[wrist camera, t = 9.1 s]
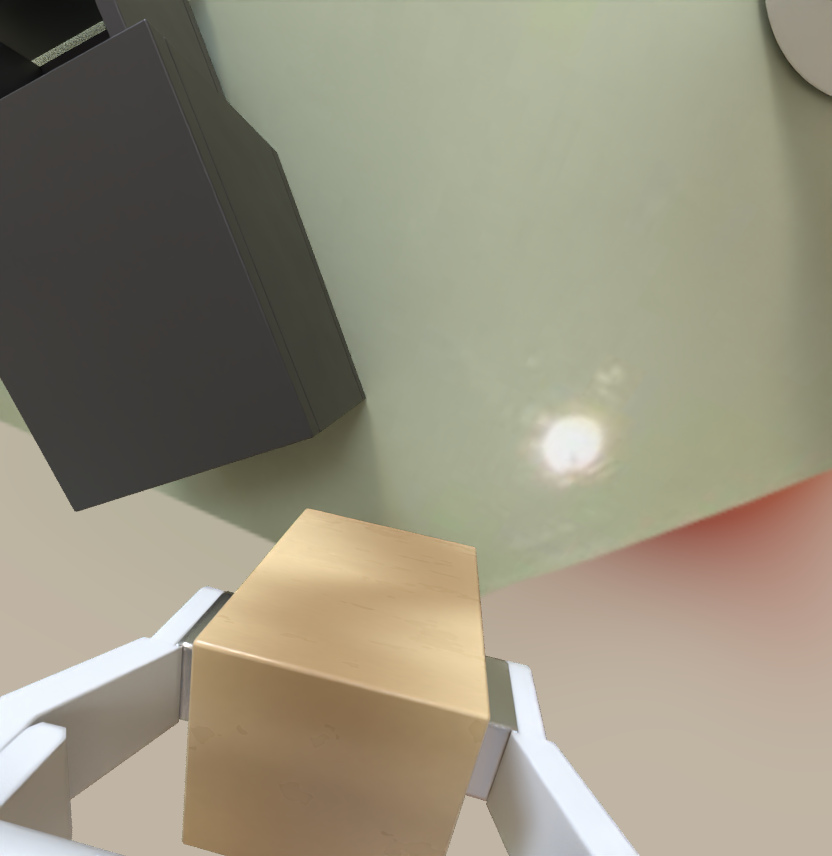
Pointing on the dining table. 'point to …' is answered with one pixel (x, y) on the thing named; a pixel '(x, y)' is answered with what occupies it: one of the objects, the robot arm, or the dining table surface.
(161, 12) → the drawer
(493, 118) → the dining table surface
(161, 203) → the charcoal cube with tab
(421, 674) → the block
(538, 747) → the robot arm
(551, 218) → the dining table surface
